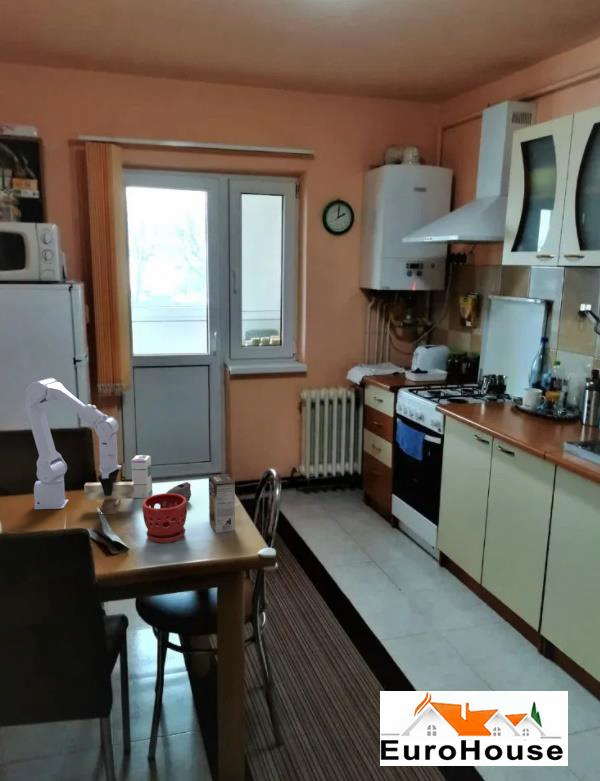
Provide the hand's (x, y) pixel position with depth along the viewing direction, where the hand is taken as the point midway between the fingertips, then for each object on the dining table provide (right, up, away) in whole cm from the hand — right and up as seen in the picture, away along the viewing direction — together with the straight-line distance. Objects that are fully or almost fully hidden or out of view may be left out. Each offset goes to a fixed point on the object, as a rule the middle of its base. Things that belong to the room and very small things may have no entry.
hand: (110, 492), depth 209 cm
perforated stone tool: (+22, -6, +5) cm, 23 cm away
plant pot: (+24, -10, -22) cm, 34 cm away
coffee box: (+40, -9, -13) cm, 43 cm away
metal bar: (0, -2, 0) cm, 2 cm away
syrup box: (+7, -4, +15) cm, 17 cm away
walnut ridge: (0, -6, +1) cm, 6 cm away
